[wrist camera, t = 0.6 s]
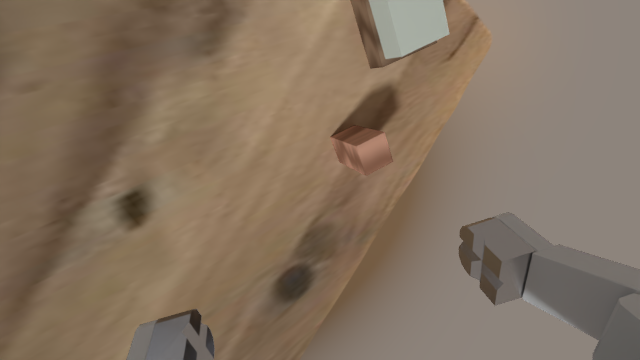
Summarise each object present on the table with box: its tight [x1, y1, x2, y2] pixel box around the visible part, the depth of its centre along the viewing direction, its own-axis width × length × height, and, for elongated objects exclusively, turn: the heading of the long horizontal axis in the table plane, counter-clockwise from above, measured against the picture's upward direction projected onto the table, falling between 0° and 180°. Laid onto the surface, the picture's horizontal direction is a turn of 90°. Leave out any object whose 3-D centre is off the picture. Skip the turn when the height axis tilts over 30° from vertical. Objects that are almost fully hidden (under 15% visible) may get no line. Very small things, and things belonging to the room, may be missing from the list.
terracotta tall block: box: [331, 125, 393, 176], centre depth 52 cm, size 5×5×10 cm
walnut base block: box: [351, 0, 437, 68], centre depth 52 cm, size 11×11×4 cm
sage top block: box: [369, 0, 449, 59], centre depth 48 cm, size 9×9×4 cm
